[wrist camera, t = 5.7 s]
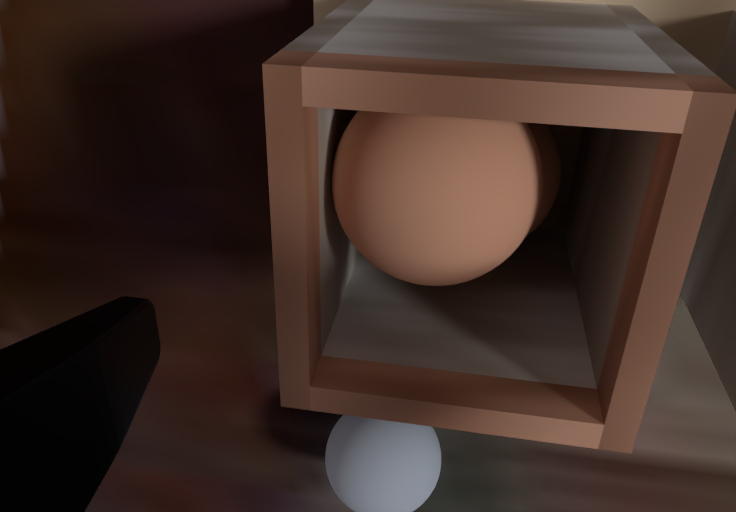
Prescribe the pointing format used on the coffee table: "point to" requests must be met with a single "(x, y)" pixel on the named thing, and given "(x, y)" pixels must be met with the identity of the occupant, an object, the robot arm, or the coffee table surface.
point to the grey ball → (382, 464)
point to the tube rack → (541, 247)
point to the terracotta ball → (436, 193)
